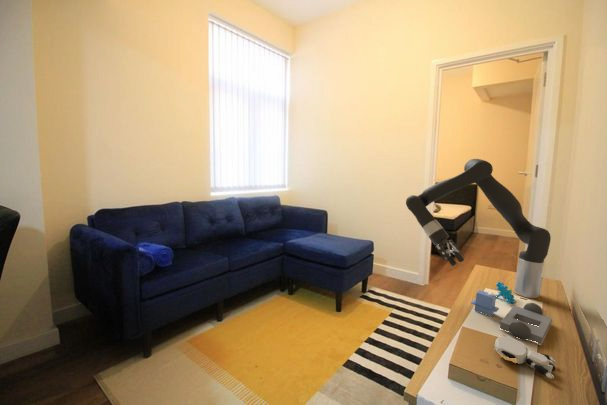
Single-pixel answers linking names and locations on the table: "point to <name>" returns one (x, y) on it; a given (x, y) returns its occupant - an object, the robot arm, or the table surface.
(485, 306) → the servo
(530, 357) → the robot toy
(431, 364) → the table surface
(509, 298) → the gear
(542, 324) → the chassis
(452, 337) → the table surface
